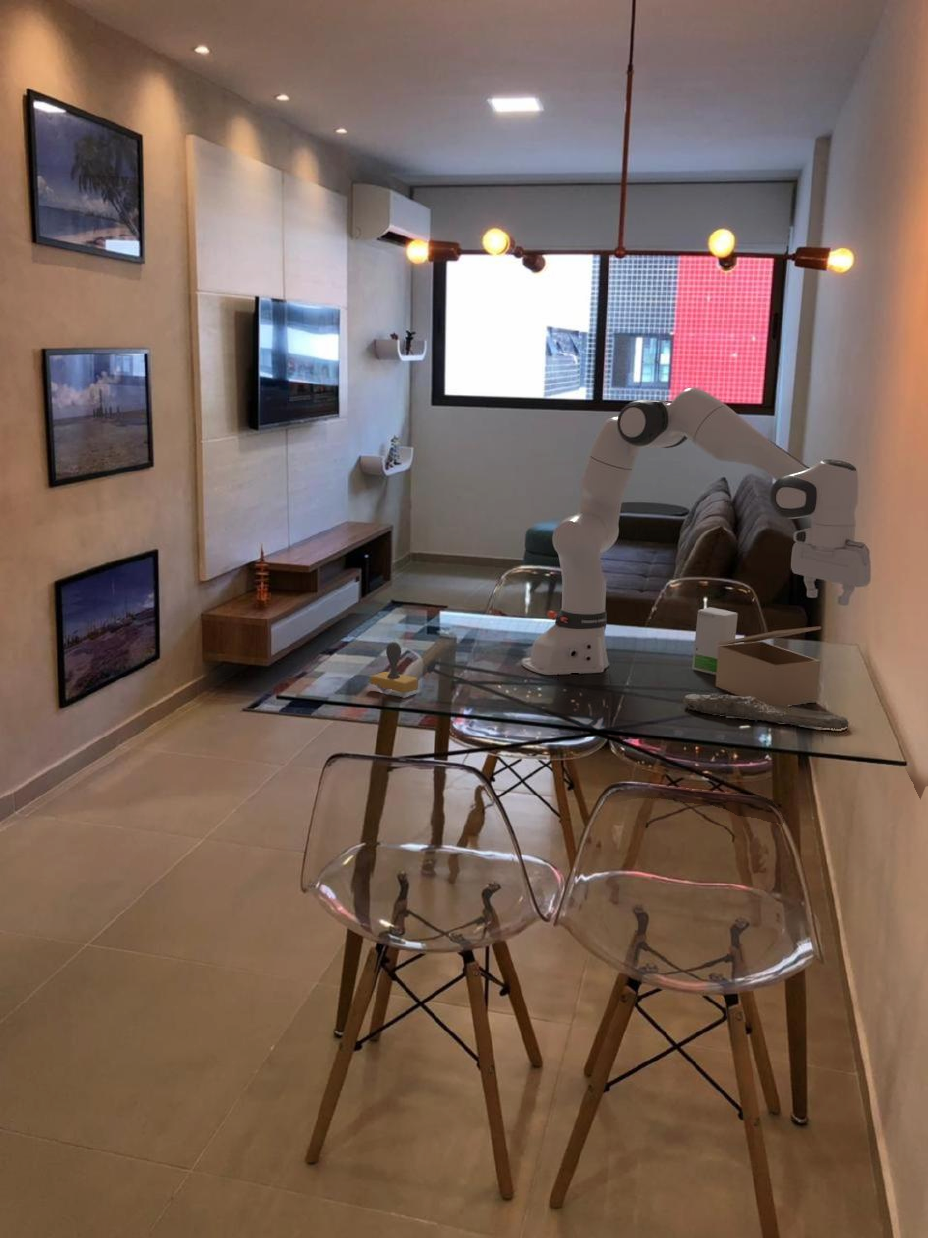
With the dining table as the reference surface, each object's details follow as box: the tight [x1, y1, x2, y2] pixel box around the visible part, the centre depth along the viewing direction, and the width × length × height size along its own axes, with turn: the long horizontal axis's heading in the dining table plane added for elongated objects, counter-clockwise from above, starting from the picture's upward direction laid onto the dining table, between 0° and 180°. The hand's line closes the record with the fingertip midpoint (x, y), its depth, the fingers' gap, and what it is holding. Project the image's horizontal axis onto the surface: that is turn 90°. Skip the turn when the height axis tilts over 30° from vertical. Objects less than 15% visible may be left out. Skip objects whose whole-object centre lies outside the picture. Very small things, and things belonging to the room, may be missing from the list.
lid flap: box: [718, 626, 822, 645], centre depth 248 cm, size 13×20×1 cm, turn 25°
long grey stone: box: [682, 693, 850, 729], centre depth 232 cm, size 35×5×10 cm
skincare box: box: [691, 606, 739, 676], centre depth 269 cm, size 8×7×16 cm
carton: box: [715, 640, 821, 706], centre depth 250 cm, size 13×20×10 cm, turn 25°
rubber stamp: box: [369, 641, 419, 693], centre depth 246 cm, size 10×6×12 cm, turn 56°
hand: (827, 601), depth 230 cm, fingers open, 8 cm apart
